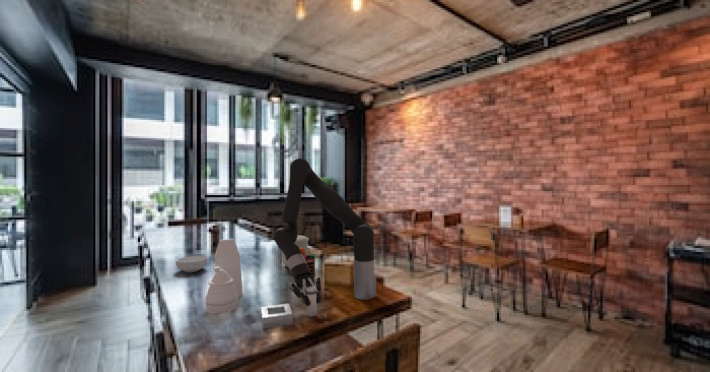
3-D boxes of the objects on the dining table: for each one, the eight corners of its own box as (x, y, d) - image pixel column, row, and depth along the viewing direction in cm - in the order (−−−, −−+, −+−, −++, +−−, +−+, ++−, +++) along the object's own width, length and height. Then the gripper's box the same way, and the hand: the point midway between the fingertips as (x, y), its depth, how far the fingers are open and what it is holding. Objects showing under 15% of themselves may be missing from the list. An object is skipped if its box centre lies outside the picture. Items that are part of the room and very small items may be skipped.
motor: (310, 292, 166) (309, 251, 165) (292, 291, 168) (292, 250, 167) (317, 285, 176) (316, 246, 175) (300, 284, 177) (299, 246, 177)
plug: (315, 311, 143) (315, 285, 142) (317, 315, 139) (317, 288, 138) (305, 313, 142) (305, 286, 141) (307, 317, 138) (307, 290, 137)
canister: (306, 269, 205) (306, 234, 204) (276, 270, 205) (275, 234, 204) (311, 261, 223) (310, 229, 222) (283, 262, 223) (282, 229, 222)
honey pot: (218, 316, 140) (217, 272, 139) (199, 309, 146) (197, 267, 146) (244, 305, 150) (243, 264, 150) (224, 300, 157) (223, 260, 157)
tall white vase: (215, 299, 159) (213, 242, 157) (214, 291, 169) (213, 238, 168) (242, 295, 163) (241, 240, 162) (240, 287, 174) (239, 236, 173)
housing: (289, 313, 142) (288, 303, 142) (292, 324, 131) (292, 313, 131) (261, 316, 139) (261, 307, 138) (262, 328, 128) (262, 317, 128)
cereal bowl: (213, 269, 208) (213, 257, 208) (187, 276, 194) (186, 263, 194) (196, 265, 218) (196, 254, 217) (170, 271, 203) (170, 260, 203)
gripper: (286, 265, 141) (301, 303, 132) (316, 259, 150) (332, 295, 141) (280, 275, 145) (295, 312, 136) (310, 269, 154) (325, 304, 145)
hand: (314, 303), depth 139 cm, fingers closed on plug, 4 cm apart
